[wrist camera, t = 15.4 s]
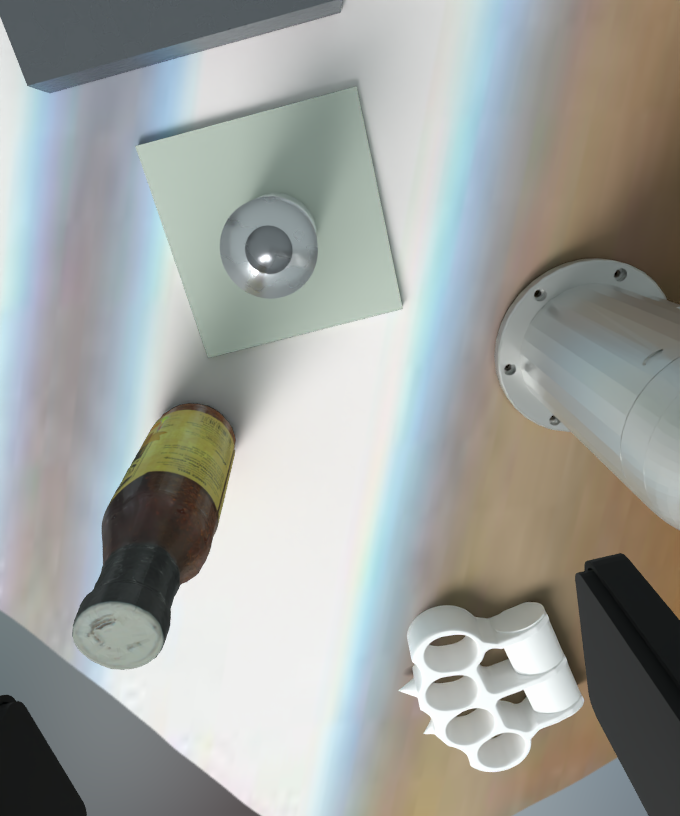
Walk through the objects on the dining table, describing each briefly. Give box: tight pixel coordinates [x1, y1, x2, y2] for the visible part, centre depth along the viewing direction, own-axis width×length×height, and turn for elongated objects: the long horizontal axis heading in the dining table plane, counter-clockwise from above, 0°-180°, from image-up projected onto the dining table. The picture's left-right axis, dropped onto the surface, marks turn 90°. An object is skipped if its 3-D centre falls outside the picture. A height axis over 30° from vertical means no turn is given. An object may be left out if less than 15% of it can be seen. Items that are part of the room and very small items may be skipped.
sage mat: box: [135, 86, 403, 358], centre depth 39 cm, size 14×14×1 cm
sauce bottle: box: [72, 403, 235, 670], centre depth 35 cm, size 6×6×20 cm
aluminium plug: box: [220, 192, 318, 299], centre depth 34 cm, size 5×5×9 cm
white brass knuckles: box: [398, 602, 584, 772], centre depth 53 cm, size 3×18×15 cm
